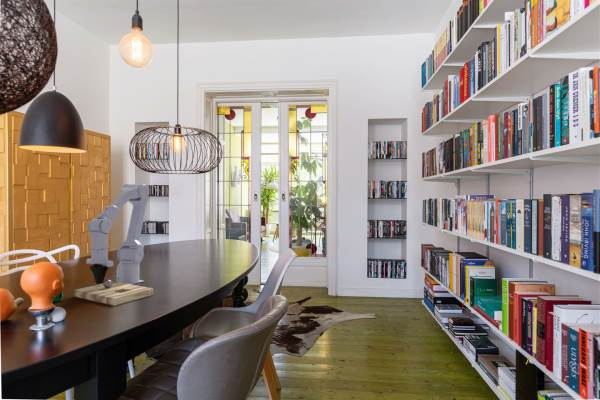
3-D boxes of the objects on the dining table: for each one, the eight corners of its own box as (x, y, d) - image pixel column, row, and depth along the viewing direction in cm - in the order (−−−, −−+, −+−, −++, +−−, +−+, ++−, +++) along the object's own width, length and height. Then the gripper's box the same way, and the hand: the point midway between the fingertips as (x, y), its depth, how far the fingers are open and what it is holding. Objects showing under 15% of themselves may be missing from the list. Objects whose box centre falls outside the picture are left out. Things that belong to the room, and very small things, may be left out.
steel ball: (101, 288, 137) (101, 279, 137) (109, 286, 139) (109, 278, 139) (106, 289, 135) (106, 280, 135) (114, 287, 138) (114, 279, 138)
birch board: (74, 296, 134) (74, 289, 134) (114, 287, 148) (114, 281, 148) (114, 305, 123) (114, 298, 123) (153, 294, 137) (153, 288, 137)
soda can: (66, 299, 129) (66, 267, 129) (52, 303, 125) (52, 269, 125) (56, 298, 131) (56, 266, 131) (42, 302, 126) (42, 268, 126)
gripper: (78, 248, 140) (78, 283, 140) (100, 251, 133) (100, 287, 133) (96, 246, 146) (96, 279, 146) (118, 249, 139) (118, 283, 139)
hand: (99, 283), depth 140 cm, fingers closed
